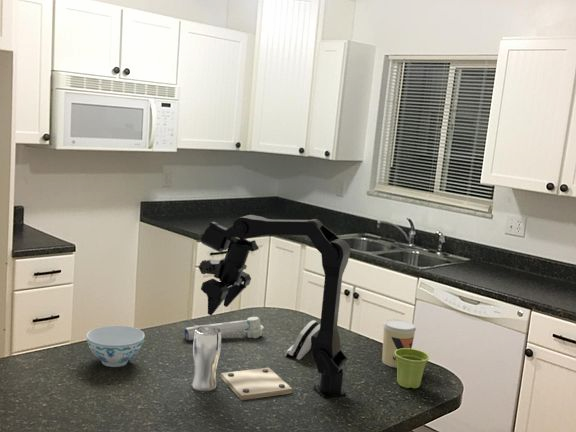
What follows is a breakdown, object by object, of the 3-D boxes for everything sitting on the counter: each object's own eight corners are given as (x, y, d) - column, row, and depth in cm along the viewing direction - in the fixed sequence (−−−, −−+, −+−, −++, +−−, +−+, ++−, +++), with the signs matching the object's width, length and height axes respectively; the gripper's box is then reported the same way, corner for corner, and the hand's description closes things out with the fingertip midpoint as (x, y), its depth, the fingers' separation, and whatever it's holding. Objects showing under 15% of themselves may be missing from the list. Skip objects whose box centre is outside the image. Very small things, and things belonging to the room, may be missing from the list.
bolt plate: (291, 393, 162) (292, 387, 162) (241, 400, 156) (241, 394, 156) (268, 371, 175) (268, 366, 174) (220, 377, 168) (221, 372, 168)
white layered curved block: (301, 339, 202) (314, 313, 200) (314, 347, 201) (327, 320, 199) (283, 356, 187) (297, 327, 184) (297, 364, 186) (311, 336, 183)
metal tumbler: (187, 381, 164) (191, 325, 161) (213, 379, 166) (217, 324, 164) (194, 393, 157) (198, 335, 155) (221, 390, 160) (225, 333, 158)
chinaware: (132, 348, 182) (133, 323, 181) (151, 368, 170) (153, 340, 169) (78, 356, 174) (79, 328, 173) (95, 377, 162) (96, 348, 161)
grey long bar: (182, 325, 195) (259, 311, 204) (184, 345, 196) (260, 330, 206) (186, 331, 190) (265, 316, 199) (188, 351, 192) (266, 336, 201)
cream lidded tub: (390, 370, 184) (395, 330, 182) (373, 358, 192) (378, 319, 190) (417, 367, 187) (422, 328, 185) (399, 355, 196) (404, 318, 194)
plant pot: (384, 383, 174) (388, 352, 173) (402, 374, 181) (405, 345, 180) (414, 394, 168) (418, 363, 167) (431, 385, 175) (435, 355, 174)
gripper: (225, 241, 182) (209, 290, 186) (193, 252, 165) (175, 305, 168) (259, 258, 179) (241, 306, 182) (229, 270, 161) (210, 324, 165)
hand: (217, 310), depth 175 cm, fingers open, 9 cm apart
